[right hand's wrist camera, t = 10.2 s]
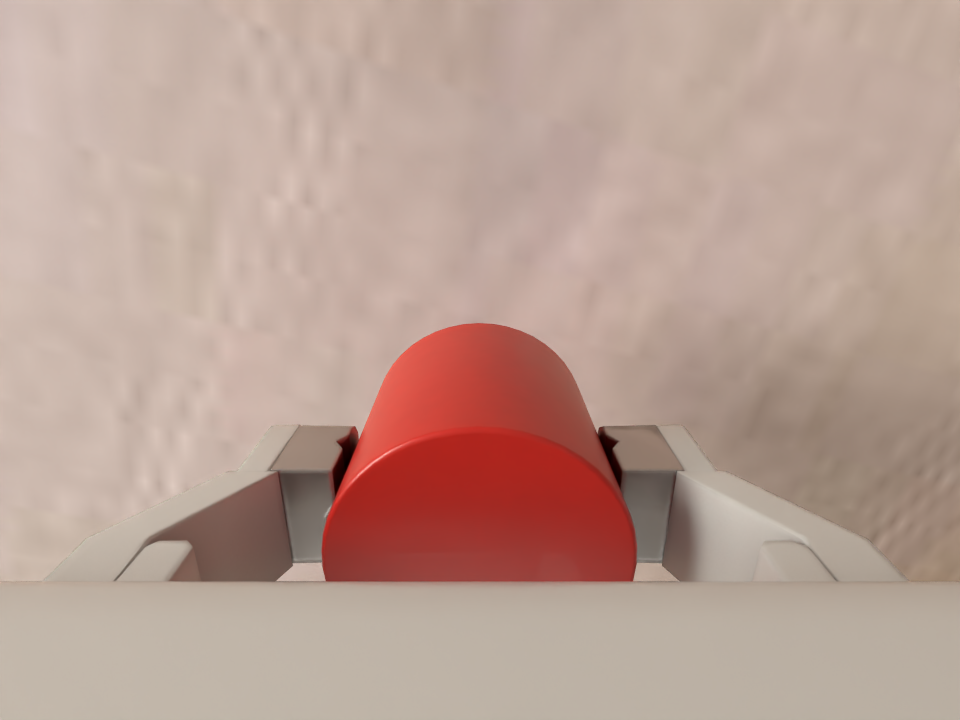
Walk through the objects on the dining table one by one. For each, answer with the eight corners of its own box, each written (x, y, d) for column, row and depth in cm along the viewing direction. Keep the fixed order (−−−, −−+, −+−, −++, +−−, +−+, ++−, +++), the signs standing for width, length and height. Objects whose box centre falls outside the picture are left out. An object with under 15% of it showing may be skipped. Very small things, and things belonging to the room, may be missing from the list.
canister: (360, 482, 12) (300, 652, 8) (398, 298, 11) (346, 394, 7) (547, 521, 13) (580, 702, 9) (611, 350, 11) (688, 470, 7)
